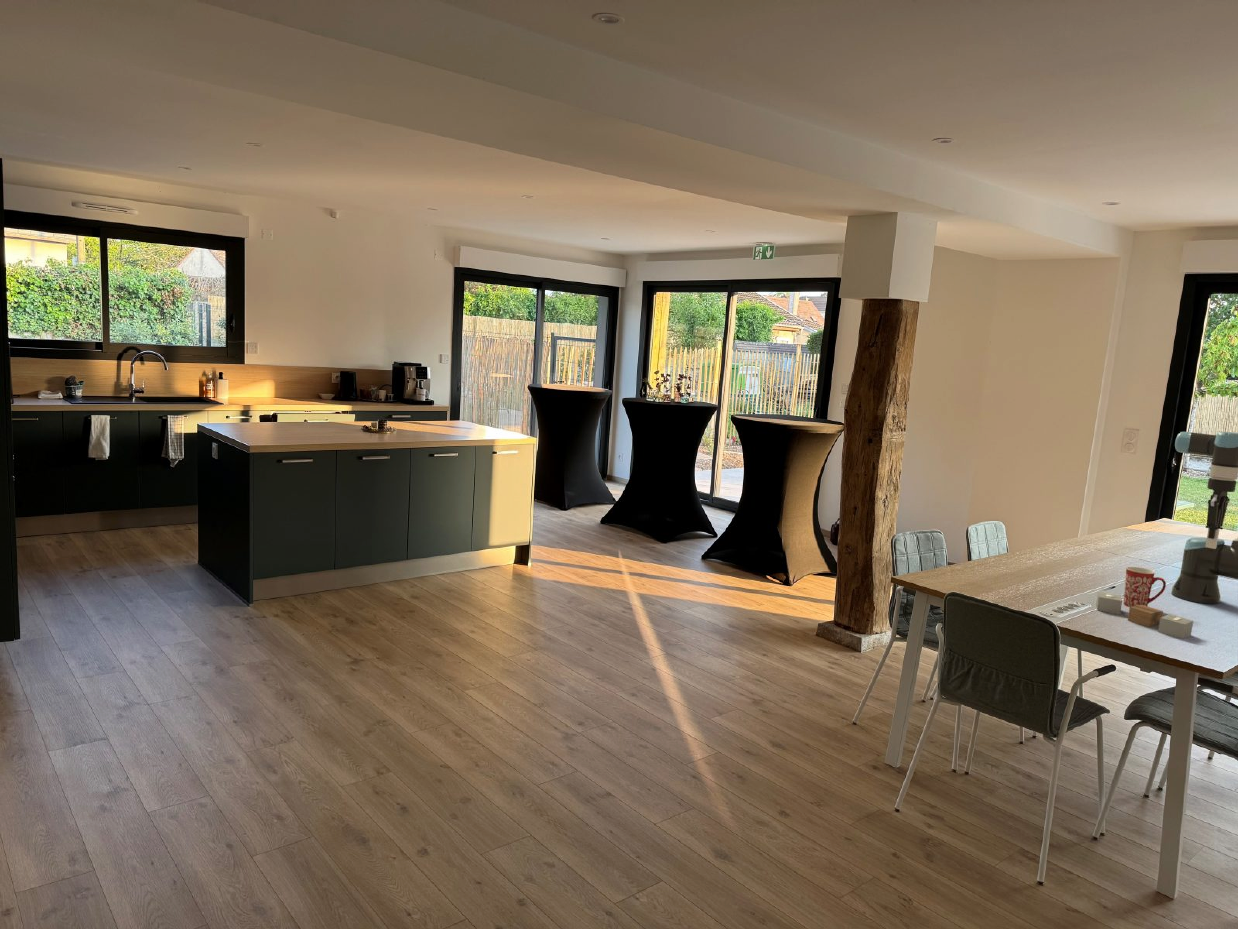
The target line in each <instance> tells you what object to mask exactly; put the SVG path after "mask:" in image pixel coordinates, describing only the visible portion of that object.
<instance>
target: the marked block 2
mask: <svg viewBox="0 0 1238 929" xmlns="http://www.w3.org/2000/svg"><path fill="white" fill-rule="evenodd" d="M1193 624H1194V621H1193V620H1191V619H1188V618H1183V617H1180V616H1176V615H1172V614H1167V615H1164V616H1162V617H1161V618H1160V624H1159V625H1158V630H1157V632H1158V633H1161V634H1164V635H1168V636H1171V637H1174V638H1179V639H1185V638H1188V637H1190V636H1191V635H1192V631H1193V626H1194V625H1193Z"/></svg>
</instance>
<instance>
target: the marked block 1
mask: <svg viewBox="0 0 1238 929" xmlns="http://www.w3.org/2000/svg"><path fill="white" fill-rule="evenodd" d="M1122 605H1123V600H1122V596H1121V595H1117V594H1111V593H1107V592H1100V591H1098V592H1097V597H1096V603H1095V607H1097V608H1096V611H1098V612H1099V611H1100V612H1105V613H1111V614H1116V613H1118V614H1117V615H1121V611H1122V610H1121V609H1122Z"/></svg>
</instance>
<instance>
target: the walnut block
mask: <svg viewBox="0 0 1238 929" xmlns="http://www.w3.org/2000/svg"><path fill="white" fill-rule="evenodd" d="M1163 614H1164V611H1163V610H1161V609H1157V608H1154V607H1151V606H1149V605H1148V606H1145V605H1137V606H1131V607H1129V609H1128V616H1127V621H1128V622H1131V623H1135V624H1137V625H1141V626H1144V627H1147V628H1153V627H1157V626H1158V627H1159V624H1160V618H1161V617H1163Z"/></svg>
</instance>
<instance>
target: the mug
mask: <svg viewBox="0 0 1238 929" xmlns="http://www.w3.org/2000/svg"><path fill="white" fill-rule="evenodd" d="M1125 570H1126V571H1125V580H1124V581H1125V583H1124V593H1123V594H1124V595H1123V605H1124V606H1125V607H1128V608H1130V607H1131V606H1137V605H1145V606H1148V607H1149V604H1150V603H1152V602H1153V601H1155V600H1156V599H1158V598H1159V596H1161V595H1162V594H1163V593H1164V591H1165V590H1166V587H1167V583H1166V581H1165V579H1164V578H1162V577H1159V576H1157V577H1155V574H1156V571H1154V570H1151V569H1149V568H1144V567H1139V566H1126V567H1125ZM1156 581H1161V582H1162V588H1161V589H1160V591H1159V592H1158V593H1157V594H1155V595H1154V596H1152V597H1150V596H1151V592H1152V587H1153V586H1152V585H1154V584H1155V583H1156Z"/></svg>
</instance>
